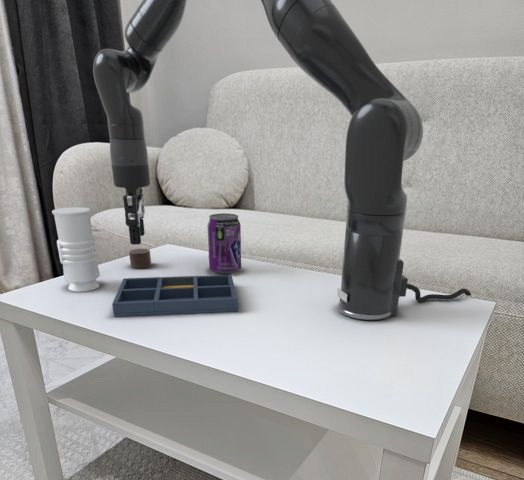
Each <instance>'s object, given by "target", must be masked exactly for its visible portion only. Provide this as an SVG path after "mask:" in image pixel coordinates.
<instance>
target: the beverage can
mask: <svg viewBox="0 0 524 480" xmlns="http://www.w3.org/2000/svg"><path fill="white" fill-rule="evenodd" d="M208 218H209V220H208V222H207V243H208V244H207V245H208V246H207V248H208V267H209V270H210V271H213V272H215V273H216V274H219V275H231V274H234V273H236V272H238V271H239V270H241V269H242V235H241V233H242V231H241V229H242V228H241V222H240V220H239V215H238V214H235V213H222V212H221V213H214V214H209V216H208Z"/></svg>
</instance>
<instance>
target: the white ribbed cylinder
mask: <svg viewBox="0 0 524 480" xmlns="http://www.w3.org/2000/svg"><path fill="white" fill-rule="evenodd" d="M90 213H91V208H89V207H84V206H83V207H82V206H71V207H69V206H68V207H61V208H60V207H59V208H56V209H53V210H52V211H51V214H52V215H53V216H54V217H53V218H54V222H55V228H56V233H57V238H58V239H57V240H56V247H57V251H58V257H59V262H60V264H61V265H62V270H63V279H64V281H67V282H69V284H68V290H69V291H71V292H80V293H81V292H89V291H93V290H96V289H98V288H99V287H100V284H99V282H98V281H97V279H99V278H100V277H101V274H100V273H101V272H100V269H99V265H98V259H99V258H98V257H99V256H98V255H97V254H98V251H97V249H96V248H97V244H96V243H95V242H96V238H95V237H94V235H93V228H92V222H91V214H90Z"/></svg>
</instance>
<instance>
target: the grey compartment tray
mask: <svg viewBox="0 0 524 480" xmlns="http://www.w3.org/2000/svg"><path fill="white" fill-rule="evenodd" d="M238 303H239V300H238V295H237V291H236V287H235V283H234V279H233V275H232V274H213V275H211V274H210V275H185V276H182V275H181V276H155V277H154V276H153V277H126V278H125V277H124V278H122V281H121V283H120V285H119V287H118V290H117V292H116V293H115V297H114V299H113V301H112V304H111V305H112V311H113V312H112V313H113V317H115V318H117V317H142V316H162V315H163V316H164V315H184V314H185V315H187V314H208V313H210V314H211V313H233V312H234V313H235V312H238V311H239V304H238Z"/></svg>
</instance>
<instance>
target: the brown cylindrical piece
mask: <svg viewBox="0 0 524 480" xmlns="http://www.w3.org/2000/svg"><path fill="white" fill-rule="evenodd" d="M128 254H129V262H130V263H129V264H130V268H132V269H134V270H144V269H149V268H151V267H152V258H151V250H150V249H148V248H135V249H131V250H129V252H128Z"/></svg>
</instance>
